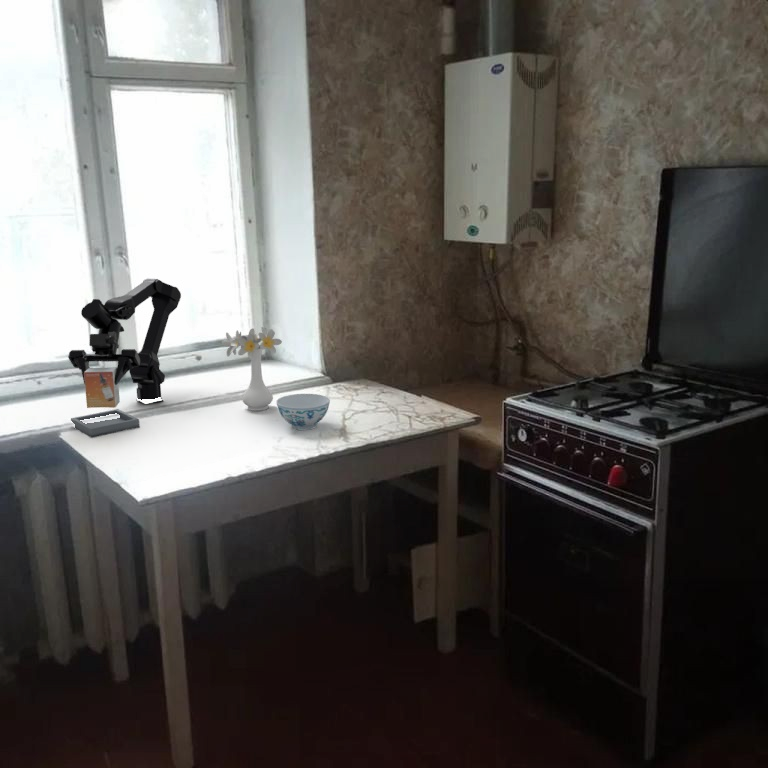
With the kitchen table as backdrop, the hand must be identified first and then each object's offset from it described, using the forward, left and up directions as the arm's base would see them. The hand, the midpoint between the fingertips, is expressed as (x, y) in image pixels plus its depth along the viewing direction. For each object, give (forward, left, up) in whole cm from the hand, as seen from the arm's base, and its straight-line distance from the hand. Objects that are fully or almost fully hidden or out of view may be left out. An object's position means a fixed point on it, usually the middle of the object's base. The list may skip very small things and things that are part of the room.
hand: (100, 384), depth 225 cm
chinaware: (-43, +37, -13) cm, 58 cm away
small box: (-1, -1, -7) cm, 7 cm away
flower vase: (-43, +12, -13) cm, 46 cm away
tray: (-1, -1, -13) cm, 13 cm away
